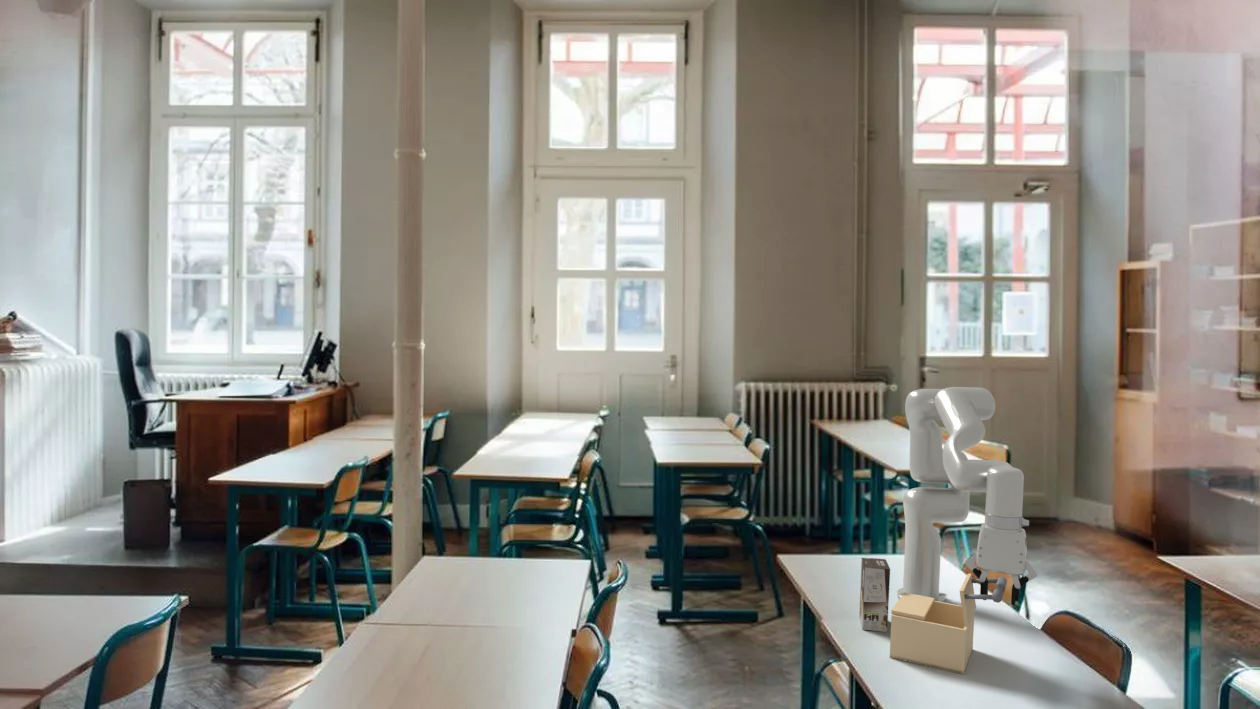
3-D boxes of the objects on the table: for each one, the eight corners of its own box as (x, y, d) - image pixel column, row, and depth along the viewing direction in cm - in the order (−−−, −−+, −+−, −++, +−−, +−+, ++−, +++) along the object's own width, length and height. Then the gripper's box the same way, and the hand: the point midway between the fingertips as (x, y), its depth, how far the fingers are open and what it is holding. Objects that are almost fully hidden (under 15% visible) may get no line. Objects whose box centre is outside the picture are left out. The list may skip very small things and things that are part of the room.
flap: (972, 607, 189) (1011, 608, 185) (964, 626, 176) (1005, 628, 172) (967, 573, 189) (1006, 574, 185) (959, 590, 177) (1000, 591, 172)
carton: (902, 634, 198) (904, 591, 197) (972, 649, 190) (974, 604, 189) (888, 657, 184) (890, 611, 183) (963, 674, 176) (966, 626, 175)
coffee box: (888, 632, 199) (890, 569, 198) (861, 629, 200) (864, 567, 199) (884, 619, 208) (886, 558, 207) (858, 616, 209) (861, 556, 208)
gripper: (1046, 524, 177) (1042, 603, 178) (964, 513, 186) (960, 589, 187) (1045, 531, 171) (1040, 614, 172) (960, 519, 179) (956, 598, 180)
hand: (999, 600), depth 179 cm, fingers open, 5 cm apart
